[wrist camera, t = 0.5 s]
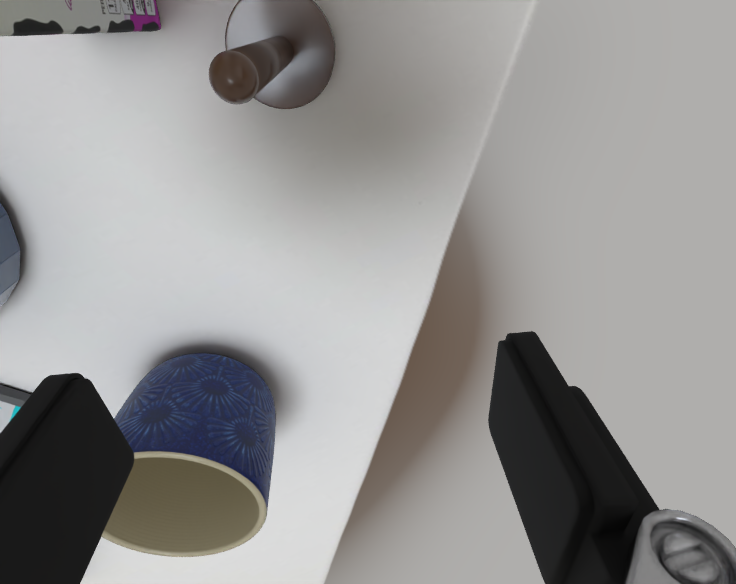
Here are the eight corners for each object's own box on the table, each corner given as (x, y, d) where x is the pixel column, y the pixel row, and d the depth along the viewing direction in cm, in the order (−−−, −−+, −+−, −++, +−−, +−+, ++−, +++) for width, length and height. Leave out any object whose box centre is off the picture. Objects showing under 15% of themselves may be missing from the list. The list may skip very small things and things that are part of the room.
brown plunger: (217, 0, 22) (76, -18, 10) (320, -25, 22) (298, -74, 10) (253, 112, 25) (177, 196, 13) (345, 91, 25) (349, 159, 13)
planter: (106, 375, 36) (26, 498, 27) (222, 312, 33) (177, 426, 24) (205, 452, 42) (168, 574, 33) (310, 405, 39) (302, 524, 30)
